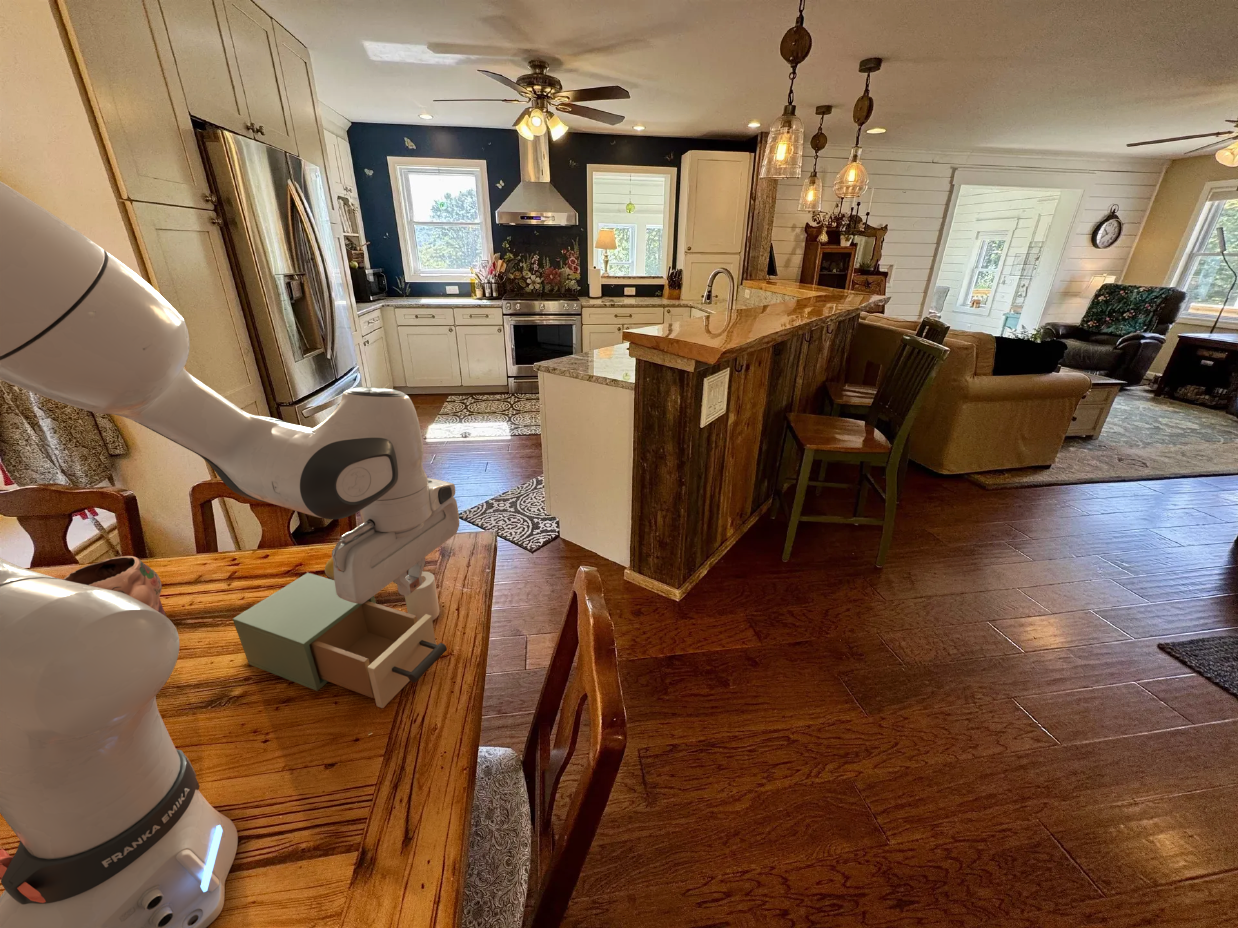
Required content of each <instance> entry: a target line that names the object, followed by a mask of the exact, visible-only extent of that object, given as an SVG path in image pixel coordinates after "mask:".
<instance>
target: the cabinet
mask: <svg viewBox="0 0 1238 928" xmlns="http://www.w3.org/2000/svg"><path fill="white" fill-rule="evenodd" d="M367 601H369V602H372V603H376V604H377V602H376V598H375V595H374V596H373V597H371V598H370V599H369V600H367ZM361 605H362V604H358V603H353V602H349V601H346V600H344V599H342V598H340V597H339V596H338V595H337V593H336V588H335V581H334V579H331V578H329V577H325V576H321V575H317V574H314V573H311V572H306V573H304V574H303V575H302V576H300V577H298V578H296V579H295V580H294V581H292V582H290V583H288V584H287V585H284V586H283V587H281V589H278V590H277V591H275V592H273V593H272V594H270V595H269V596H267V597H265V598H264V599H262V600H260V601H259V602H257V603H256V604H254V605H253V606H251V607H249V608H248V609H246V610H244V611H243V612H241V613H240V614H238V615H236V616H235V617H233V618H232V622H233V624H234V627H235V630H236V633H237V635H238V638H239V641H240V643H241V647H242V649H243V652H244V654H245V657H246V660H247V664H248V665H250V666H252V667H255V668H257V669H259V670H263V671H265V672H267V673H270V674H272V675H274V676H278V677H280V678H283V679H285V680H287V681H291V682H292V683H295V684H298V685H300V686H303V687H306V688H308V689H310V690H313V691H316V692H318V691H319V690H321V689H322V688H323V687H324V686H325V685H327V684H328V683H330V682H329V681H326V680H323V679H321V678H319V677H318V673H317V670H316V667H315V663H314V660H313V656H312V653H311V650H310V646H309V644H311V643H312V642H313V641H315V640H316V639H317V638H318V637H320V636H321V635H322V634H324V633H325V632H326V631H328V630H329V629H330V628H332V627H333V626H334V625H336V624H337V623H338V622H340V621H341V620H342V619H344V618H345V617H346V616H348V615H349V614H350V613H351V612H353V611H354V610H355V609H357V608H358V607H359V606H361Z"/></svg>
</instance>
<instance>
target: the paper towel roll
mask: <svg viewBox="0 0 1238 928" xmlns="http://www.w3.org/2000/svg"><path fill="white" fill-rule="evenodd" d="M421 579H422V585H421V586H419V587H418V588H417V589H415V590H414V591H413V592H412V593H411V594H410V595H408V596H404V601H405V606H406V610H407V612H406V613H409V614H412V615H415V616H417V621H419V620H420V619H421V618H422V617H423V616H424V615H425V614H427V615H430V616H432V622H433V621H434V620H436V619H437V618H438V616H439V615H440V612H441V611H440V604H439V598H438V592H437V585H436V579H435V575H434V574H433V573H432V572H429V571H423V572H422V575H421Z"/></svg>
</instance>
